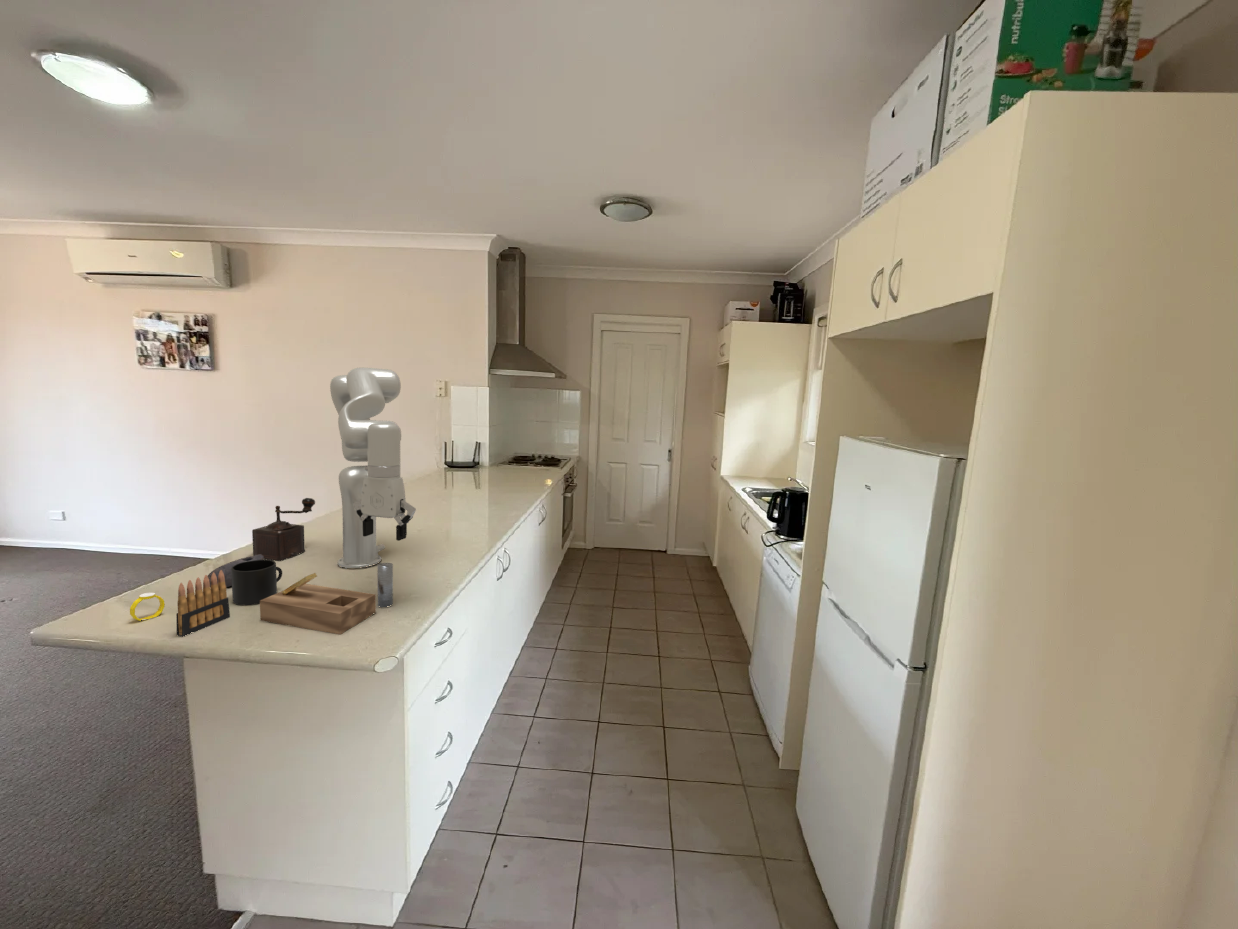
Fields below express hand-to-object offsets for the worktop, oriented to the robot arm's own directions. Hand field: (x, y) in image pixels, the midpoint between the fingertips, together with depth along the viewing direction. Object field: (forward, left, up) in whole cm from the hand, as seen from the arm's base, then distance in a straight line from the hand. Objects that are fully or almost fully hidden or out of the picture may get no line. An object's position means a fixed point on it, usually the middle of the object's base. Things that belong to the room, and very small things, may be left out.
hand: (384, 537), depth 129 cm
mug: (+6, -33, -19) cm, 38 cm away
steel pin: (0, 0, -19) cm, 19 cm away
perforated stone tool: (+1, -46, -19) cm, 50 cm away
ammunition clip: (+23, -30, -19) cm, 42 cm away
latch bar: (+11, -15, -11) cm, 22 cm away
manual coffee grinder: (-25, -56, -19) cm, 64 cm away
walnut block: (+11, -10, -18) cm, 24 cm away
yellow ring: (+24, -45, -19) cm, 54 cm away
